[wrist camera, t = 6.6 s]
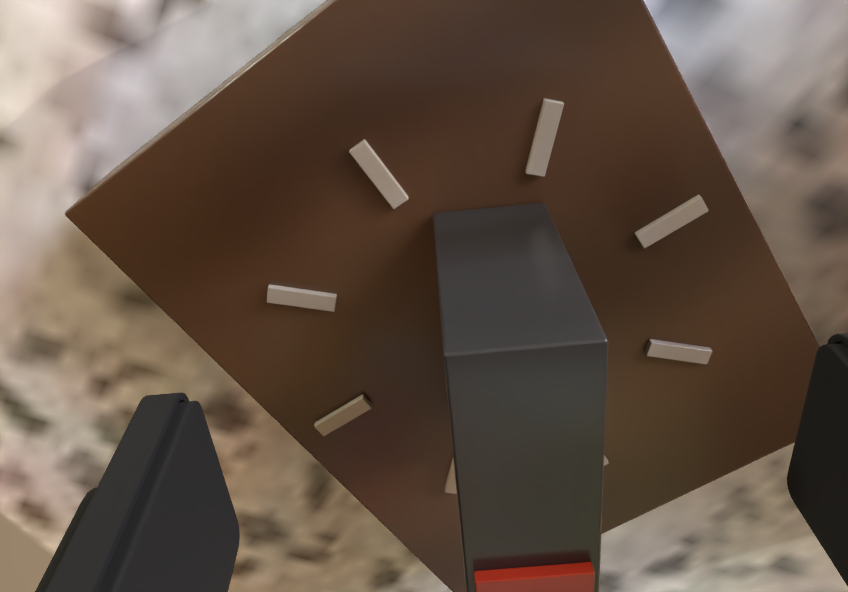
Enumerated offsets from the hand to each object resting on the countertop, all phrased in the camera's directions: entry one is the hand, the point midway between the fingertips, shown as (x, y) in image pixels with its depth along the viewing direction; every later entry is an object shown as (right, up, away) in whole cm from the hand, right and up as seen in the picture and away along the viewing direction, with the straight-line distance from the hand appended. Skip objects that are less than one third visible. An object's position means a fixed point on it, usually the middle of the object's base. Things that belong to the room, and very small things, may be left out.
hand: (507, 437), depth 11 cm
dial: (0, +2, +4) cm, 4 cm away
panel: (0, +3, +6) cm, 7 cm away
